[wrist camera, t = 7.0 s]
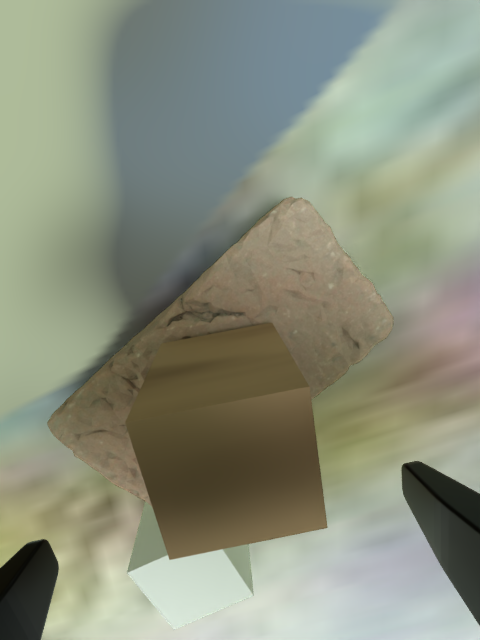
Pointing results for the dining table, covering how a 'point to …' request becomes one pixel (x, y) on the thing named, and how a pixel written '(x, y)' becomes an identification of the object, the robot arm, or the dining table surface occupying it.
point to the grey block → (187, 576)
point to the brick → (234, 313)
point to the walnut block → (227, 442)
